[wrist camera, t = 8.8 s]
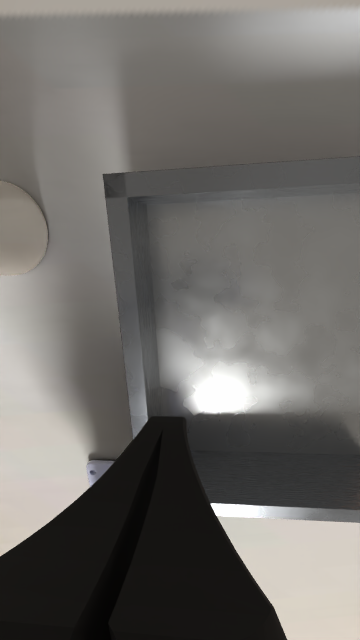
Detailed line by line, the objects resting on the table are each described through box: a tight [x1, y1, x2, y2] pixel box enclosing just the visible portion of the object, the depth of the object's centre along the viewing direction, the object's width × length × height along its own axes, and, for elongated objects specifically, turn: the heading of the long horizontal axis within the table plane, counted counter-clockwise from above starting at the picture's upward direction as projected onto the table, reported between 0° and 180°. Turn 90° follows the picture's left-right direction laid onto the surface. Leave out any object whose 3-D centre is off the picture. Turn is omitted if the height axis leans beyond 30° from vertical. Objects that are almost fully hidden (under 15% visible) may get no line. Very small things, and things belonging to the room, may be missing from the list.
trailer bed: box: [103, 156, 360, 523], centre depth 18 cm, size 20×16×6 cm
